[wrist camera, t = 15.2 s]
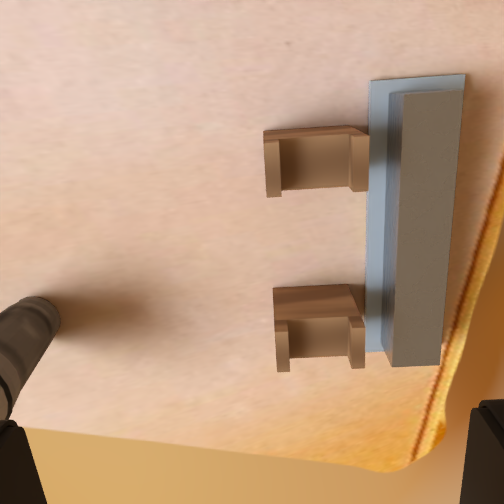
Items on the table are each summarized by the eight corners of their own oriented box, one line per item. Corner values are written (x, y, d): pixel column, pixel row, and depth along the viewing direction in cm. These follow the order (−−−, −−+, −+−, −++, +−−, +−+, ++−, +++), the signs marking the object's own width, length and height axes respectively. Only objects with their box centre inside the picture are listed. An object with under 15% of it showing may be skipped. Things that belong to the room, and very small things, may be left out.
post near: (263, 131, 36) (263, 143, 29) (348, 125, 36) (369, 136, 29) (265, 175, 38) (266, 197, 30) (347, 170, 37) (368, 191, 30)
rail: (388, 93, 35) (403, 94, 31) (442, 89, 34) (463, 90, 31) (380, 342, 42) (391, 367, 38) (423, 339, 42) (439, 365, 38)
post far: (272, 288, 41) (274, 332, 34) (347, 284, 41) (365, 327, 34) (274, 322, 43) (277, 372, 35) (347, 318, 42) (364, 368, 35)
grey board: (369, 81, 35) (371, 81, 34) (460, 74, 35) (465, 74, 34) (363, 347, 43) (365, 352, 43) (437, 344, 43) (440, 348, 42)
